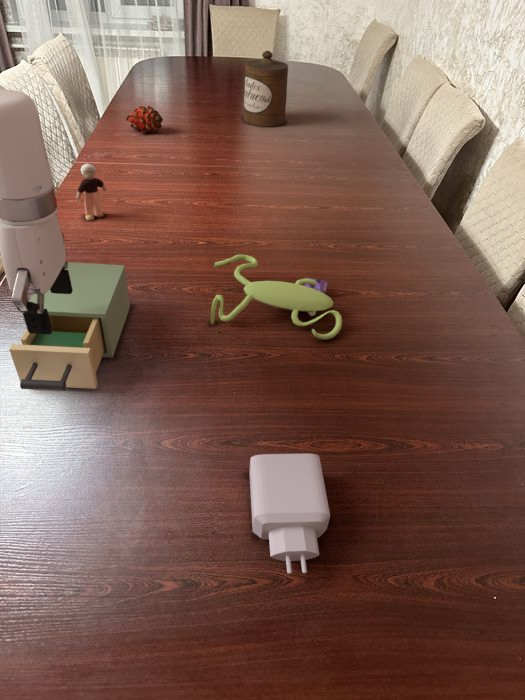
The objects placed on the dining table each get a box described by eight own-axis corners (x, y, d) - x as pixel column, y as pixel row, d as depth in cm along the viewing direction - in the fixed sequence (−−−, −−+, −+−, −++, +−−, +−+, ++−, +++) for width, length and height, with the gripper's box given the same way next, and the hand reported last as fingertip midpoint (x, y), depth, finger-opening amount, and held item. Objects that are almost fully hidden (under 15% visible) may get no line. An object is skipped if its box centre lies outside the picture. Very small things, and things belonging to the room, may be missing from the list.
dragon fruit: (166, 138, 172) (130, 141, 173) (166, 116, 174) (131, 119, 175) (159, 121, 164) (121, 124, 165) (159, 98, 166) (122, 101, 167)
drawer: (87, 412, 77) (79, 376, 72) (9, 408, 76) (-5, 372, 72) (115, 334, 91) (109, 299, 86) (49, 330, 90) (40, 295, 86)
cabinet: (112, 357, 87) (105, 314, 81) (36, 354, 87) (23, 310, 81) (130, 306, 98) (124, 265, 93) (62, 303, 98) (53, 261, 92)
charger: (255, 585, 60) (249, 475, 71) (334, 582, 61) (315, 474, 72) (257, 564, 57) (250, 454, 68) (340, 562, 57) (320, 453, 69)
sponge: (34, 373, 81) (27, 351, 78) (45, 352, 84) (39, 330, 82) (86, 375, 81) (82, 354, 78) (95, 354, 85) (90, 333, 82)
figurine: (219, 270, 110) (219, 247, 106) (345, 289, 107) (350, 266, 104) (194, 322, 96) (193, 297, 92) (338, 346, 93) (343, 321, 90)
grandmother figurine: (89, 224, 122) (80, 170, 114) (77, 219, 123) (68, 166, 115) (113, 212, 127) (106, 160, 119) (102, 208, 128) (94, 156, 120)
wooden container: (235, 118, 188) (236, 48, 173) (265, 111, 196) (269, 44, 182) (263, 129, 180) (267, 58, 166) (293, 122, 188) (299, 53, 174)
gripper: (18, 172, 71) (45, 278, 82) (-38, 232, 58) (3, 348, 69) (74, 175, 72) (93, 280, 83) (30, 236, 58) (60, 351, 70)
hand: (51, 311), depth 76 cm, fingers open, 9 cm apart
